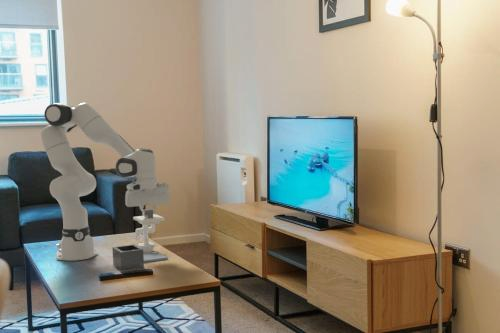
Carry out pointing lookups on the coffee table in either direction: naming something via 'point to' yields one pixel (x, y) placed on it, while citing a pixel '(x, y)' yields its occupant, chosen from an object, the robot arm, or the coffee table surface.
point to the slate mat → (154, 257)
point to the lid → (149, 218)
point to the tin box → (128, 257)
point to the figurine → (145, 238)
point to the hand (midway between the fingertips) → (148, 214)
